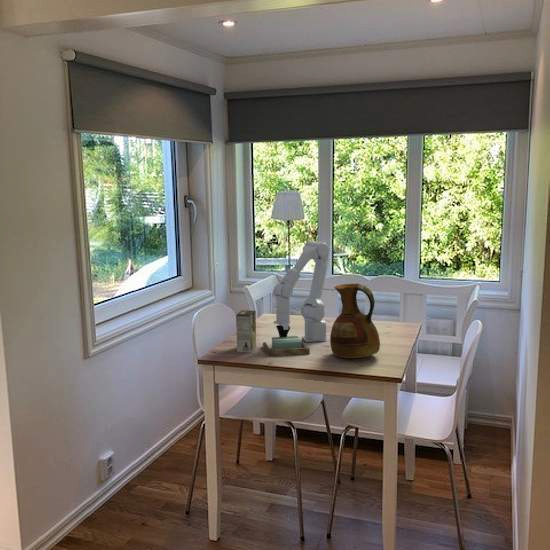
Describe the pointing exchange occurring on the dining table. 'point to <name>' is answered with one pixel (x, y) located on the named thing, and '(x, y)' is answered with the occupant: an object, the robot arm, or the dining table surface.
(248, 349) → the coffee box
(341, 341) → the ceramic pitcher
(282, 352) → the display stand
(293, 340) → the teal rectangular block
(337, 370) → the dining table surface
